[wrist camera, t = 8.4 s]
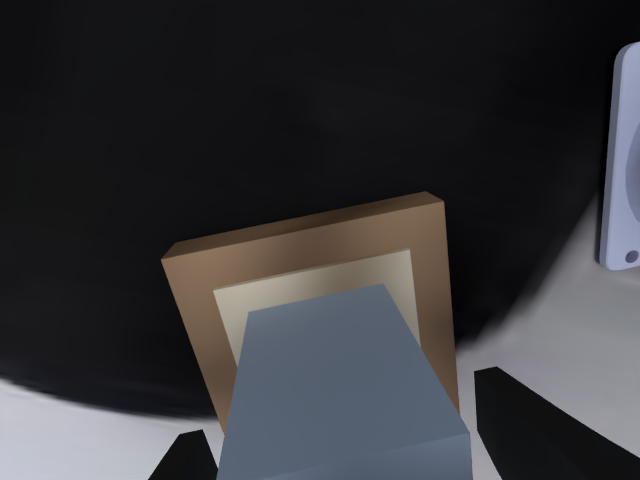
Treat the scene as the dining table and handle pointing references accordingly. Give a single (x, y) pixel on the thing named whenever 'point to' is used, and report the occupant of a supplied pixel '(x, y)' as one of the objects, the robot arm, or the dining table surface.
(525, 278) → the dining table surface
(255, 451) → the block
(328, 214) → the plinth
